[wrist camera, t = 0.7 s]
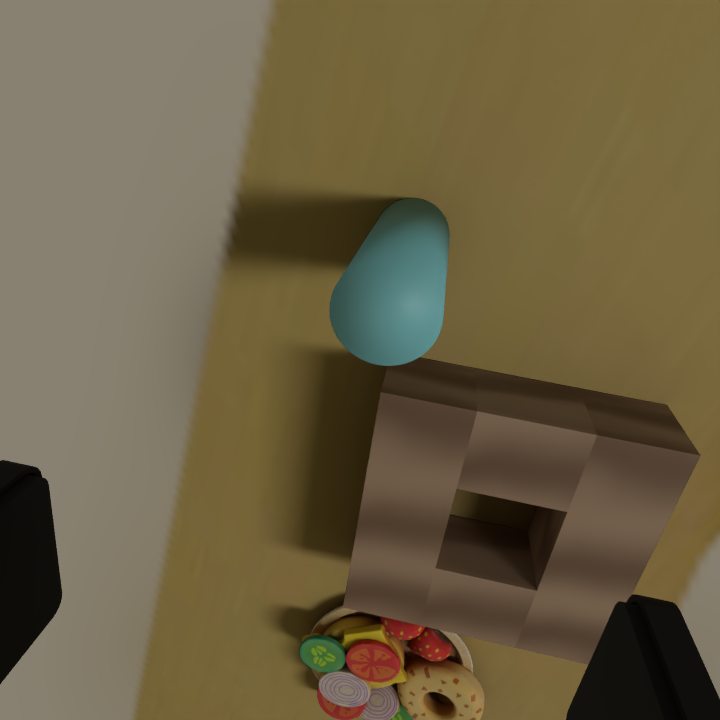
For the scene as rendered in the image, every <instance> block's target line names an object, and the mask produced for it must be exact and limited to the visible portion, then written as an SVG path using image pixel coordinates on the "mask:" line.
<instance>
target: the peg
mask: <svg viewBox="0 0 720 720" xmlns="http://www.w3.org/2000/svg"><path fill="white" fill-rule="evenodd" d="M448 249H449V227H448V223H447V221H446V218H445V217H444V215H443V213H442V212H441V211H440V210H439V209H438V208H437V207H436V206H435V205H433V204H432V203H430V202H428V201H426V200H423V199H419V198H406V199H402V200H399V201H397V202H394V203H393V204H391V205H390V206H389V207H387V208H386V209H385V210H384V212H383V213H382V214H381V216H380V217H379V219H378V220H377V222H376V224H375V225H374V227H373V228H372V230H371V231H370V233H369V234H368V236H367V238H366V239H365V241H364V242H363V244H362V245H361V247H360V248H359V250H358V252H357V253H356V255H355V256H354V258H353V259H352V261H351V263H350V264H349V266H348V267H347V269H346V270H345V272H344V273H343V275H342V277H341V278H340V280H339V281H338V283H337V284H336V286H335V288H334V290H333V293H332V296H331V301H330V319H331V324H332V327H333V330H334V332H335V334H336V336H337V338H338V339H339V341H340V342H341V343H342V344H343V346H344V347H345V348H346V349H347V350H348V351H350V352H351V353H352V354H353V355H355V356H356V357H358V358H360V359H362V360H364V361H366V362H369V363H372V364H376V365H383V366H395V365H401V364H405V363H408V362H411V361H413V360H415V359H417V358H419V357H420V356H422V355H423V354H424V353H426V352H427V351H428V350H429V349H430V348H431V346H432V345H433V344H434V343H435V341H436V339H437V338H438V335H439V333H440V331H441V327H442V323H443V314H444V301H445V288H446V275H447V262H448Z"/></svg>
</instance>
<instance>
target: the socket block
mask: <svg viewBox="0 0 720 720" xmlns="http://www.w3.org/2000/svg"><path fill="white" fill-rule="evenodd" d="M699 457H700V454H699V453H698V451H697V450H696V448H695V447H694V445H693V444H692V442H691V441H690V439H689V437H688V436H687V434H686V433H685V431H684V430H683V428H682V427H681V425H680V424H679V422H678V421H677V419H676V418H675V416H674V415H673V413H672V412H671V410H670V409H669V407H668V406H667V405H663V404H658V403H653V402H648V401H643V400H637V399H632V398H627V397H622V396H617V395H611V394H606V393H601V392H596V391H591V390H585V389H580V388H575V387H570V386H565V385H559V384H554V383H549V382H544V381H539V380H533V379H528V378H523V377H518V376H513V375H507V374H502V373H497V372H492V371H487V370H481V369H476V368H471V367H466V366H461V365H455V364H450V363H445V362H440V361H435V360H429V359H424V358H417V359H415V360H413V361H411V362H408V363H405V364H401V365H395V366H387V370H386V373H385V377H384V381H383V385H382V388H381V392H380V398H379V404H378V409H377V415H376V421H375V427H374V432H373V438H372V444H371V450H370V455H369V461H368V467H367V472H366V478H365V484H364V490H363V495H362V501H361V507H360V512H359V518H358V524H357V530H356V535H355V541H354V547H353V552H352V558H351V564H350V570H349V575H348V581H347V587H346V592H345V598H344V604H343V608H347V609H351V610H356V611H360V612H364V613H369V614H373V615H377V616H382V617H386V618H390V619H394V620H399V621H403V622H407V623H412V624H416V625H420V626H425V627H429V628H433V629H438V630H442V631H446V632H451V633H455V634H459V635H463V636H468V637H472V638H476V639H481V640H485V641H489V642H494V643H498V644H502V645H507V646H511V647H515V648H519V649H524V650H528V651H532V652H537V653H541V654H545V655H550V656H554V657H558V658H563V659H567V660H571V661H575V662H580V663H584V664H588V665H589V662H590V660H591V658H592V656H593V653H594V651H595V649H596V647H597V644H598V642H599V640H600V638H601V635H602V633H603V631H604V629H605V626H606V624H607V622H608V620H609V617H610V615H611V613H612V611H613V608H614V606H615V605H616V603H617V602H619V601H621V602H627V600H628V598H629V597H630V596H631V595H632V593H633V591H634V589H635V587H636V585H637V583H638V581H639V579H640V577H641V575H642V573H643V571H644V569H645V567H646V565H647V563H648V561H649V559H650V557H651V555H652V553H653V551H654V549H655V547H656V545H657V543H658V540H659V538H660V536H661V534H662V532H663V530H664V528H665V526H666V524H667V522H668V520H669V518H670V516H671V514H672V512H673V510H674V508H675V506H676V504H677V502H678V500H679V498H680V496H681V494H682V492H683V490H684V488H685V486H686V484H687V482H688V480H689V478H690V476H691V474H692V472H693V470H694V468H695V466H696V464H697V462H698V460H699ZM456 489H460V490H465V491H470V492H474V493H479V494H484V495H489V496H493V497H498V498H503V499H508V500H512V501H517V502H522V503H527V504H531V505H536V506H537V507H536V510H535V513H534V516H533V519H532V521H531V524H530V527H529V530H528V532H527V531H523V530H518V529H513V528H509V527H504V526H500V525H495V524H490V523H486V522H481V521H476V520H472V519H467V518H462V517H458V516H453V515H450V512H451V508H452V504H453V500H454V497H455V493H456Z"/></svg>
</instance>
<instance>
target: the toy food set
mask: <svg viewBox="0 0 720 720" xmlns="http://www.w3.org/2000/svg"><path fill="white" fill-rule="evenodd" d="M299 654H300V657H301V659H302V661H303V662H304V663H305V664H306V665H308V666H309V667H311V669H312V671H313V673H314V675H315V676H316V678H317V679H318V680H319V688H318V691H317V698H318V702H319V704H320V706H321V708H322V709H323V710H324V711H325V712H326V713H327V714H328V715H330V716H332V717H334V718H337V719H341V720H349V719H353V718H356V717H358V716H359V715H360V716H361V717H362V718H364V719H366V720H413V719H414V720H480V719H481V716H482V714H483V709H484V701H485V699H484V692H483V689H482V687H481V685H480V683H479V681H478V680H477V679H476V677H475V676H474V675H473V664H472V659H471V656H470V653H469V651H468V649H467V647H466V645H465V643H464V642H463V640H462V639H461V638H460V636H459V635H458V634H455V633H451V632H446V631H442V630H438V629H433V628H429V627H425V626H420V625H416V624H412V623H407V622H403V621H399V620H394V619H390V618H386V617H382V616H377V615H373V614H369V613H364V612H360V611H356V610H351V609H347V608H343V605H342V606H340V607H337V608H335V609H334V610H332V611H330V612H329V613H327V614H326V615H324V616H323V617H322V618H321V619H320V620H319V621H318V622H317V624H316V625H315V626H314V628H313V630H312V632H311V634H308V635H305V636H303V638H302V644H301V646H300V651H299Z"/></svg>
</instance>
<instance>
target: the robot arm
mask: <svg viewBox="0 0 720 720" xmlns="http://www.w3.org/2000/svg"><path fill="white" fill-rule="evenodd" d="M61 598H62V588H61V580H60V573H59V565H58V556H57V548H56V540H55V532H54V523H53V515H52V508H51V499H50V491H49V484H48V481H47V480H46V479H45V478H42V475H41V471H40V470H39V469H38V468H36V467H33V466H28V465H24V464H19V463H14V462H10V461H5V460H2V461H0V684H1V682H2V681H3V680H4V679H5V678H6V676H7V675H8V674H9V672H10V671H11V670H12V668H13V667H14V666H15V665H16V664H17V662H18V661H19V660H20V659H21V657H22V656H23V655H24V653H25V652H26V651H27V650H28V648H29V647H30V646H31V645H32V643H33V642H34V641H35V640H36V638H37V637H38V636H39V634H40V633H41V632H42V631H43V629H44V628H45V627H46V625H47V624H48V623H49V622H50V621H51V619H52V618H53V617H54V615H55V614H56V612H57V610H58V608H59V605H60V603H61ZM566 720H720V699H719V696H718V694H717V692H716V690H715V688H714V685H713V683H712V681H711V679H710V676H709V674H708V672H707V670H706V667H705V665H704V663H703V661H702V659H701V657H700V654H699V652H698V650H697V647H696V645H695V643H694V641H693V638H692V636H691V634H690V632H689V629H688V627H687V625H686V623H685V620H684V618H683V616H682V614H681V612H680V610H679V608H678V607H677V605H675V604H674V603H673V602H669V601H664V600H660V599H655V598H650V597H645V596H641V595H634V594H633V595H631V596H630V597H629V598H628V600H627V602H621V601H619V602H617V603H616V605H615V606H614V608H613V611H612V613H611V615H610V617H609V620H608V622H607V624H606V626H605V629H604V631H603V633H602V635H601V638H600V640H599V642H598V644H597V647H596V649H595V651H594V653H593V656H592V658H591V660H590V662H589V665H588V667H587V669H586V671H585V674H584V676H583V678H582V680H581V683H580V685H579V687H578V689H577V692H576V694H575V696H574V698H573V701H572V703H571V705H570V707H569V710H568V713H567V718H566Z"/></svg>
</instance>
